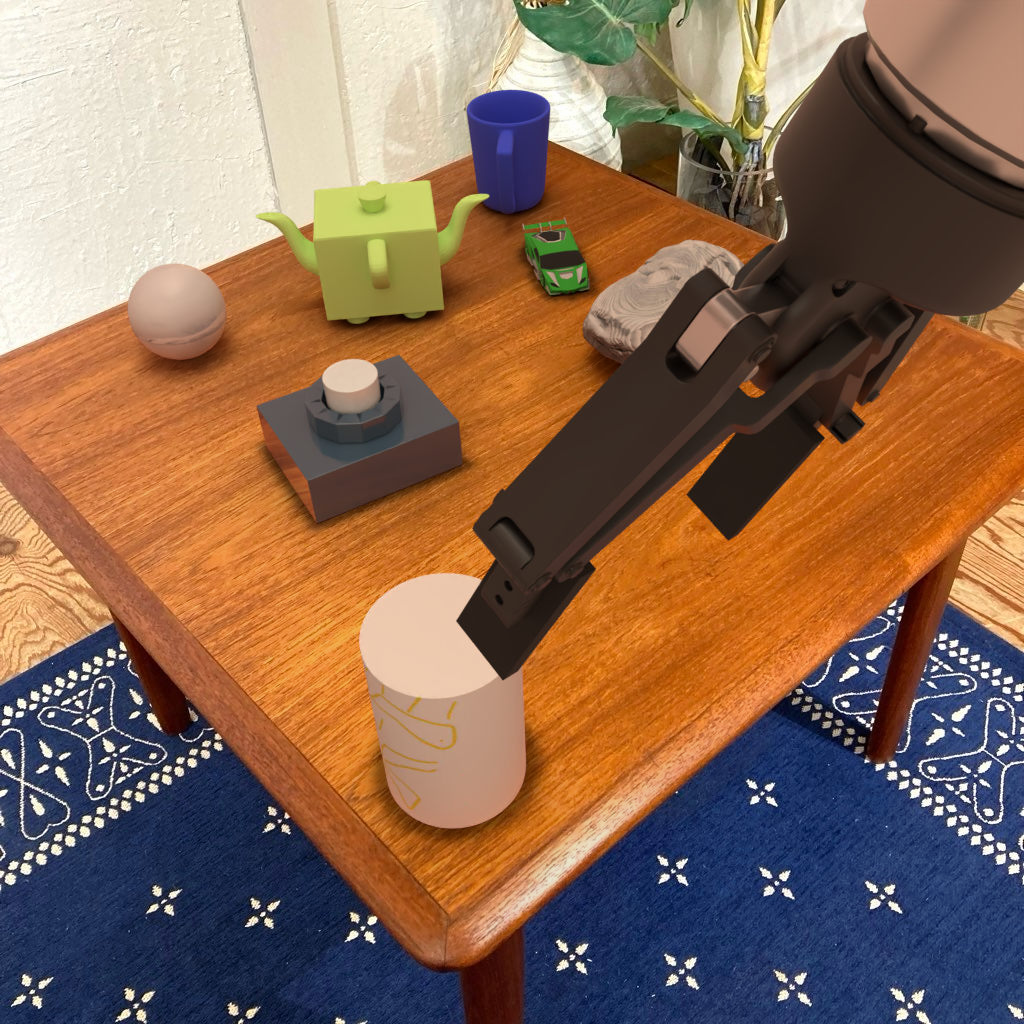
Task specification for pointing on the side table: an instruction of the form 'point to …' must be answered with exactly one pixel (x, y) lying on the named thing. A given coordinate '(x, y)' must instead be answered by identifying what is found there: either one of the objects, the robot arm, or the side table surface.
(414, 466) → the push button box
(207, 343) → the bath bomb
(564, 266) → the toy car
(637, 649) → the side table surface
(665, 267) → the decorative stone
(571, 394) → the side table surface
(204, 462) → the side table surface
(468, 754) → the doodled pink cylinder
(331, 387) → the button
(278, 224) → the teapot
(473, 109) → the mug
